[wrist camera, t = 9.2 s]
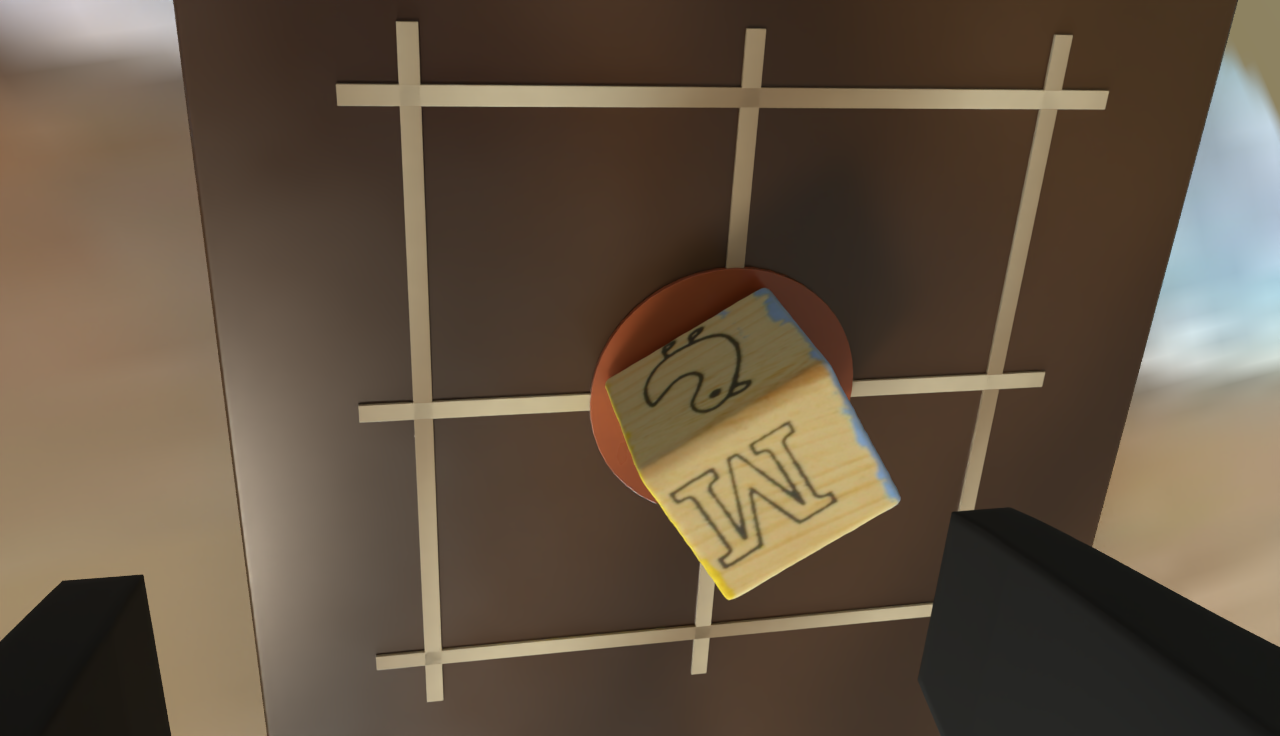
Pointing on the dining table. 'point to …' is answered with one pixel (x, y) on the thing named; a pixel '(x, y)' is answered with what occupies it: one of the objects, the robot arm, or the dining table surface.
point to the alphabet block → (749, 443)
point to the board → (659, 326)
